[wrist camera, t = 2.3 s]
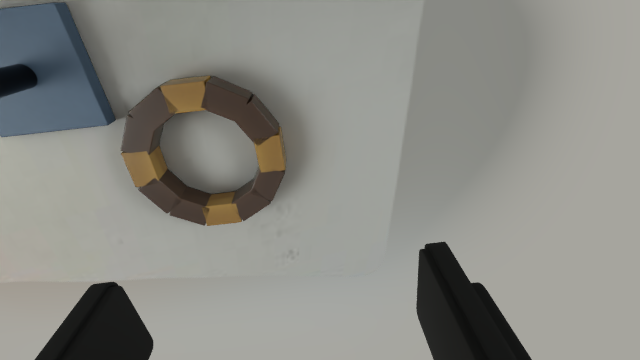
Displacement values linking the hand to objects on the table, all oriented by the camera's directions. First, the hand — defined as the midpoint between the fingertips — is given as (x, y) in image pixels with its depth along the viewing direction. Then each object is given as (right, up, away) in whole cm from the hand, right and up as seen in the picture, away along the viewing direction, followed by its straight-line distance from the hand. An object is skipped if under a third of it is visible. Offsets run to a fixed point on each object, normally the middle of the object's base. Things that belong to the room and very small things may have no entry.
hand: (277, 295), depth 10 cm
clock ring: (-8, +6, +16) cm, 19 cm away
